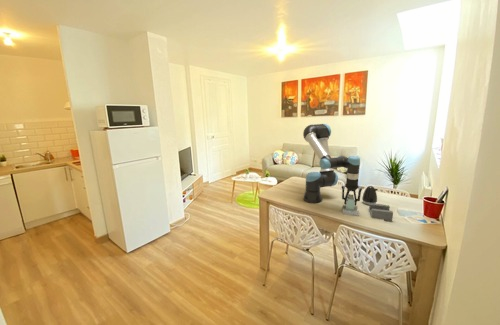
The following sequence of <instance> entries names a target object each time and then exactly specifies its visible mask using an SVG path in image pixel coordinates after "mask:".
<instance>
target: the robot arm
mask: <svg viewBox="0 0 500 325" xmlns="http://www.w3.org/2000/svg"><path fill="white" fill-rule="evenodd" d="M302 134H303V135H302V136H303V139H304V140H305V142H306V143H308V144H309V145H310V147H311V148H312V150H313V151H314V153H315V154H316V156H317V157H318V159H319V167H320V170H319V171H311V172H308V173H307V174H306V175H305V191H304V194H303V198H302V199H303V201H304V202H306V203H310V204H319V203H321V202H322V201H323V196H322V193H321V188H326V187H333V186H335V185H337V184H338V181H339V175H338V174H337V172H335V171H334V169H337V168H338V169H339V168H345V169H346V170H347V171H346V181H345V185H341V189H342V190H341V199H342V200H343V201H344V205H346V209H347V203H348V200H347V198H348V195H349V194H350V192H353V197H354V207H355V206H357V202H360V201H361V200H360V199H361V196H362V195H361V194H362V191H363V187H362V186H359V177H360V176H359V175H360V166H361V158H360V157H359V156H358V155H357V156H355V155H353V156H352V155H351V156H345V155H338V156H336V157H332V156H331V154H330V148H329V139H330V136H331V134H332V129H331V127H330V125H329V124H328V123H317V124H309V125H307V126H305V128H304V129H303V133H302ZM345 189H346V194H345ZM357 190H358V194H357V193H356V191H357ZM353 210H354V208H353Z"/></svg>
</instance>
